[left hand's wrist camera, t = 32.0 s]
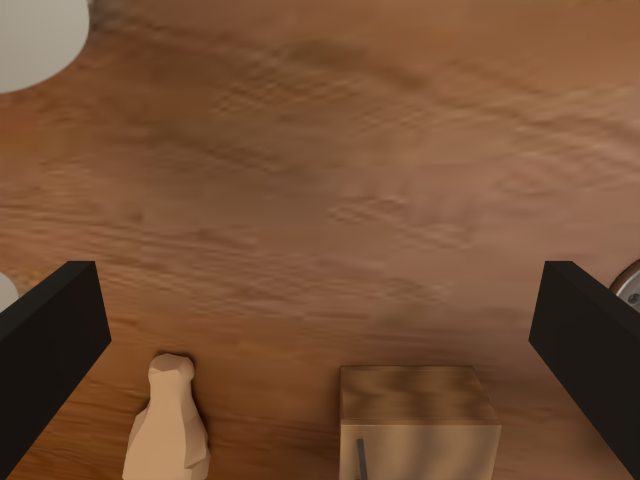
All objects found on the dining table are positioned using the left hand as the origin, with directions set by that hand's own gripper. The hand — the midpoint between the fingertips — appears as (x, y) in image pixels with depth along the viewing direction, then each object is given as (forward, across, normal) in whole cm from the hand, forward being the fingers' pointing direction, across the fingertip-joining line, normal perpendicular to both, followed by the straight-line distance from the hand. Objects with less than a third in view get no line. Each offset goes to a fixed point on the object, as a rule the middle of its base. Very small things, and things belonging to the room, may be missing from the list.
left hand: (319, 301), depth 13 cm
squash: (+34, -19, -36) cm, 54 cm away
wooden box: (+34, +11, -35) cm, 50 cm away
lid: (+25, +11, -35) cm, 44 cm away
